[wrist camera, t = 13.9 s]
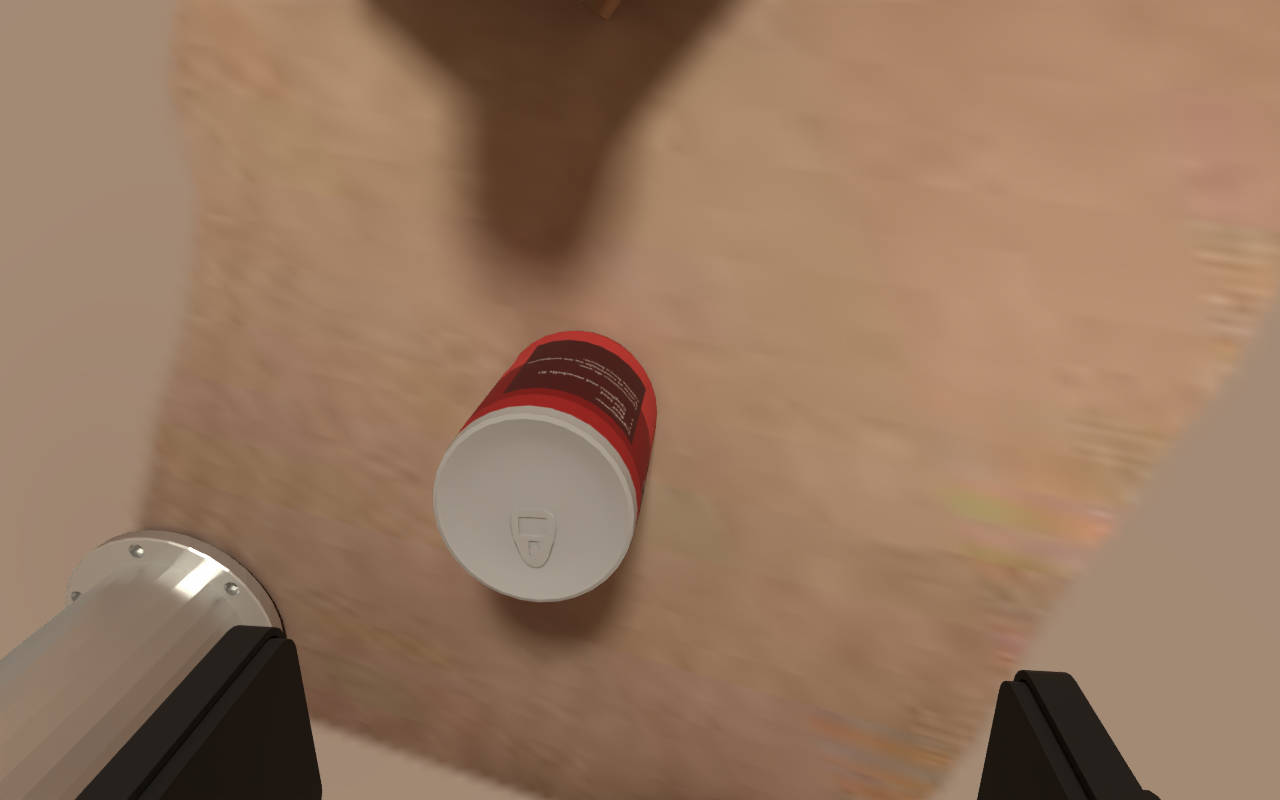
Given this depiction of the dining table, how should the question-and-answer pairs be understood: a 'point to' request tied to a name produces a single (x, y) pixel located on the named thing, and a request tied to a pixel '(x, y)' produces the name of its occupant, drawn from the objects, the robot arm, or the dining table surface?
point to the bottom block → (602, 6)
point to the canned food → (550, 470)
